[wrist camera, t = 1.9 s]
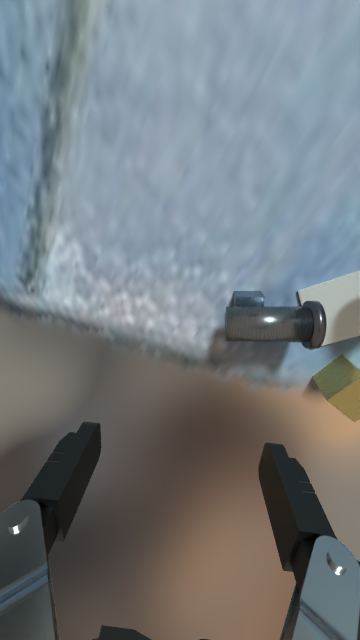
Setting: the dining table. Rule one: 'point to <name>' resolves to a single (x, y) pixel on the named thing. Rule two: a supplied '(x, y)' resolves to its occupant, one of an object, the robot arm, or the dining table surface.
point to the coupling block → (341, 386)
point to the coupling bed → (337, 305)
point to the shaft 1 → (274, 321)
